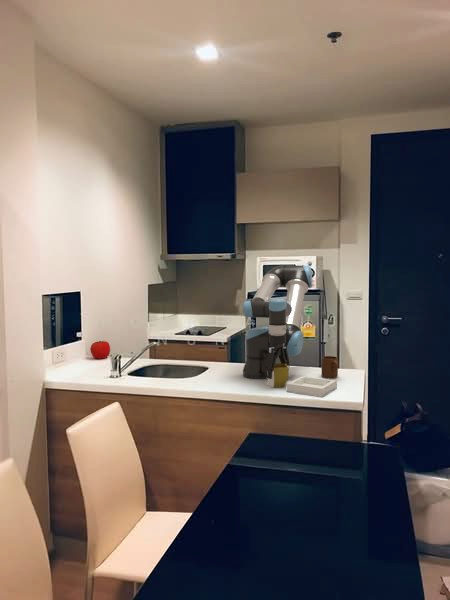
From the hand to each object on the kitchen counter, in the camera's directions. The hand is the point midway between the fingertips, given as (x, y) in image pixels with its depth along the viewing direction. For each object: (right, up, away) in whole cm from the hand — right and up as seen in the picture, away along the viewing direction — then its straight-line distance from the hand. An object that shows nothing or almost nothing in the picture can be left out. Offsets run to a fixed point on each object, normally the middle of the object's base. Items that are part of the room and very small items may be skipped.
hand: (277, 383), depth 224 cm
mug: (+27, 0, +14) cm, 30 cm away
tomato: (-95, +3, +65) cm, 115 cm away
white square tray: (+14, -2, -8) cm, 16 cm away
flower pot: (0, -1, 0) cm, 1 cm away
